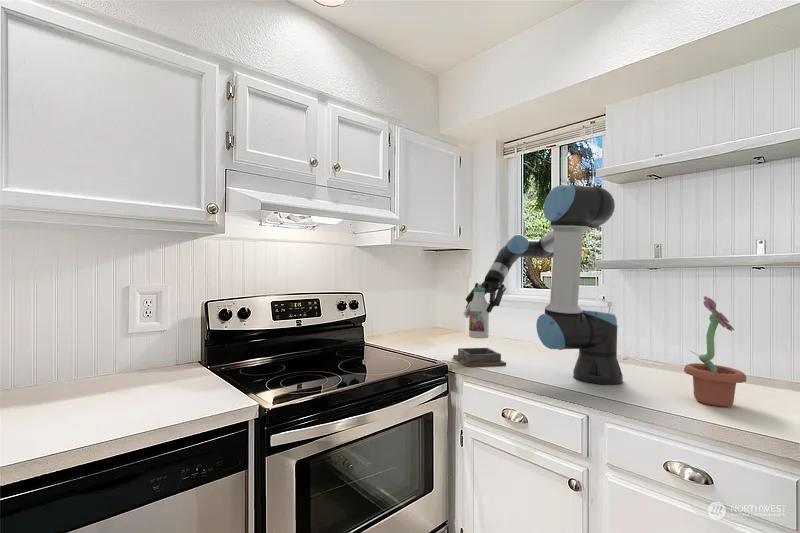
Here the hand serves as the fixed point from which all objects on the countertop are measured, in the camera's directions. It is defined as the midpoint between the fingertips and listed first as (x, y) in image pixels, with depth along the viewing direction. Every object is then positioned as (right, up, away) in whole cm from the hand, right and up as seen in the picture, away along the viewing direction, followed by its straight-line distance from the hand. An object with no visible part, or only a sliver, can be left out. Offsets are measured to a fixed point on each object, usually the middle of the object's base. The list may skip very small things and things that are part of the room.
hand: (474, 316), depth 160 cm
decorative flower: (+59, -19, -47) cm, 77 cm away
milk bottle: (+2, -9, +2) cm, 9 cm away
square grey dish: (+2, -18, +2) cm, 18 cm away
